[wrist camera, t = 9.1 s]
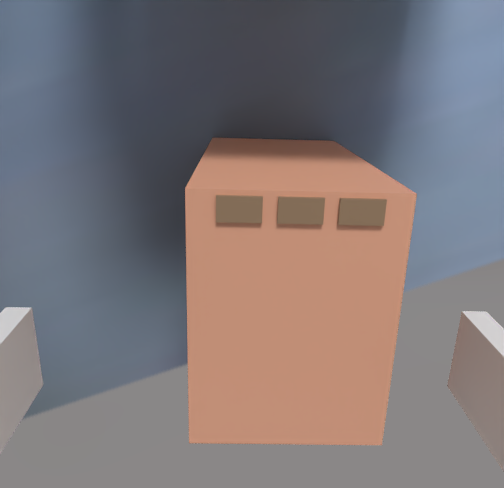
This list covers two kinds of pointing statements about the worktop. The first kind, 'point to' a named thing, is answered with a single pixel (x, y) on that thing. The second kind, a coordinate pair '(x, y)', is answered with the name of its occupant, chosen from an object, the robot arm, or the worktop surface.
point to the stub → (292, 292)
